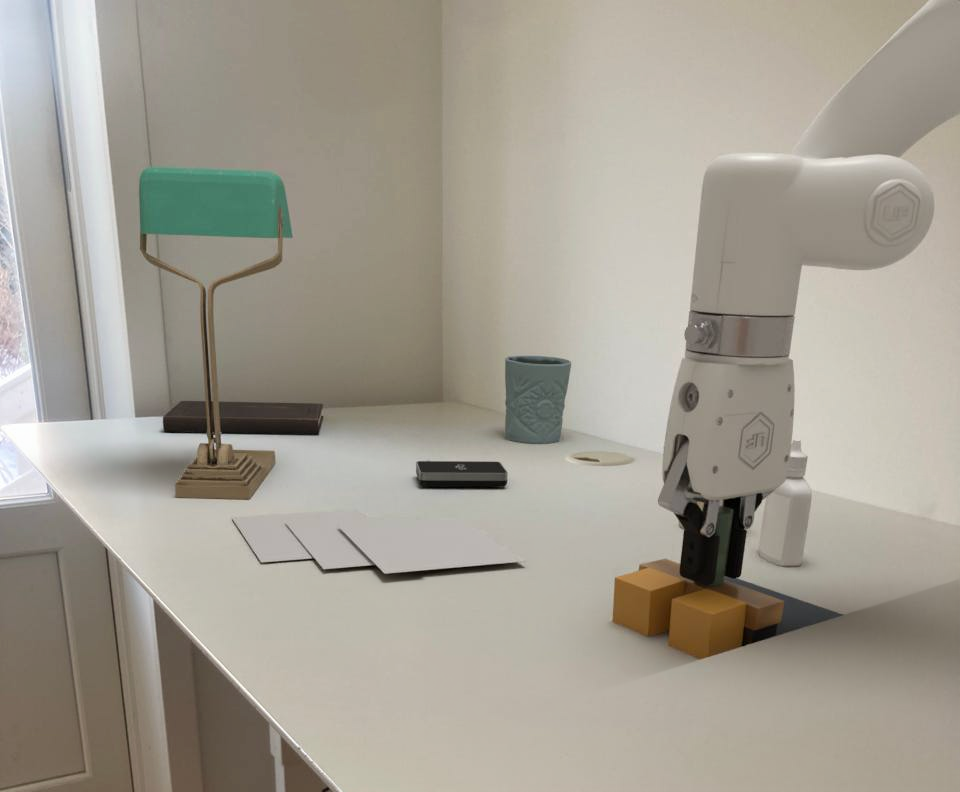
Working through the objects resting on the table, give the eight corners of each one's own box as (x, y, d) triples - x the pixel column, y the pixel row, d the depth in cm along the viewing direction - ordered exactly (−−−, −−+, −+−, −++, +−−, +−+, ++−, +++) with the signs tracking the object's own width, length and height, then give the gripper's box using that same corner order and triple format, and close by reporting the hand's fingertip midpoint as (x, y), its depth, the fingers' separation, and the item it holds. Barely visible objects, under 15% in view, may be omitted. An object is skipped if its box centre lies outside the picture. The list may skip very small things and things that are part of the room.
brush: (661, 594, 89) (672, 489, 86) (778, 640, 80) (796, 525, 77) (635, 601, 87) (646, 494, 84) (752, 649, 78) (769, 531, 75)
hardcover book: (181, 414, 168) (180, 400, 167) (323, 417, 171) (323, 403, 170) (163, 432, 154) (162, 417, 153) (318, 435, 156) (318, 420, 155)
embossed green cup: (517, 430, 166) (521, 353, 161) (576, 437, 162) (581, 359, 157) (490, 439, 157) (493, 359, 153) (551, 447, 153) (556, 365, 149)
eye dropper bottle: (754, 564, 101) (771, 443, 96) (758, 549, 106) (775, 433, 101) (800, 570, 100) (820, 447, 95) (802, 555, 105) (821, 437, 100)
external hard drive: (415, 476, 132) (415, 460, 131) (500, 476, 134) (501, 461, 133) (419, 488, 126) (419, 472, 125) (508, 489, 127) (509, 473, 126)
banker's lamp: (143, 496, 118) (113, 161, 105) (185, 459, 137) (164, 172, 124) (281, 499, 118) (268, 166, 105) (304, 462, 138) (295, 177, 125)
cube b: (646, 612, 87) (649, 567, 85) (681, 626, 84) (685, 580, 82) (612, 623, 84) (614, 577, 83) (647, 638, 81) (650, 590, 80)
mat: (719, 574, 98) (719, 572, 98) (889, 632, 84) (889, 630, 84) (613, 600, 90) (613, 598, 90) (782, 668, 76) (783, 666, 76)
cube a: (702, 635, 82) (706, 587, 80) (741, 650, 79) (747, 602, 78) (667, 646, 80) (671, 598, 78) (707, 663, 77) (712, 614, 75)
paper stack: (279, 590, 89) (279, 582, 88) (231, 517, 110) (231, 511, 110) (525, 567, 97) (526, 560, 97) (436, 504, 118) (436, 498, 118)
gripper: (703, 348, 68) (675, 609, 75) (847, 340, 77) (810, 573, 84) (623, 337, 74) (604, 581, 80) (766, 331, 83) (738, 550, 90)
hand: (709, 575), depth 82 cm, fingers closed on brush, 2 cm apart
